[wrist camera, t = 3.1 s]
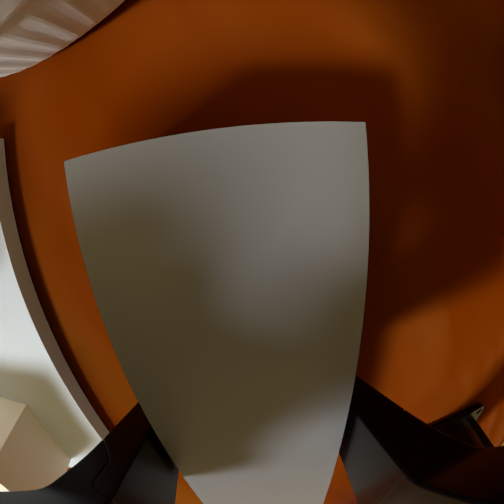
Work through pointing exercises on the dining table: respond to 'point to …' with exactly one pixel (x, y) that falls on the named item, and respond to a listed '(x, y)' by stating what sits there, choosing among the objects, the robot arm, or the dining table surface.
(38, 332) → the white tray with cubes
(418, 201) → the dining table surface
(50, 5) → the ramekin
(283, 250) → the bar
